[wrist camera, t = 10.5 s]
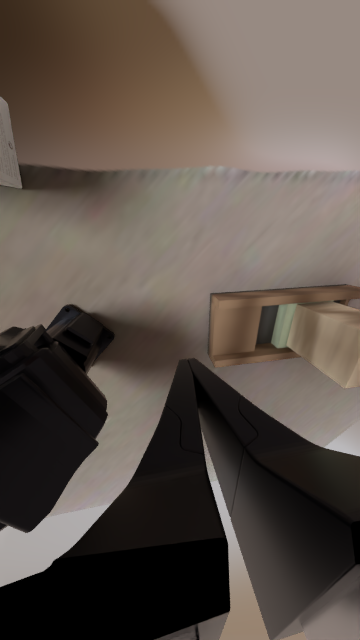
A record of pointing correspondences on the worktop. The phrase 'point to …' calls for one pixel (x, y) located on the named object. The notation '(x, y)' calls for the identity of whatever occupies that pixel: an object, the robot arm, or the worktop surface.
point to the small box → (8, 150)
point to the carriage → (328, 340)
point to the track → (262, 321)
